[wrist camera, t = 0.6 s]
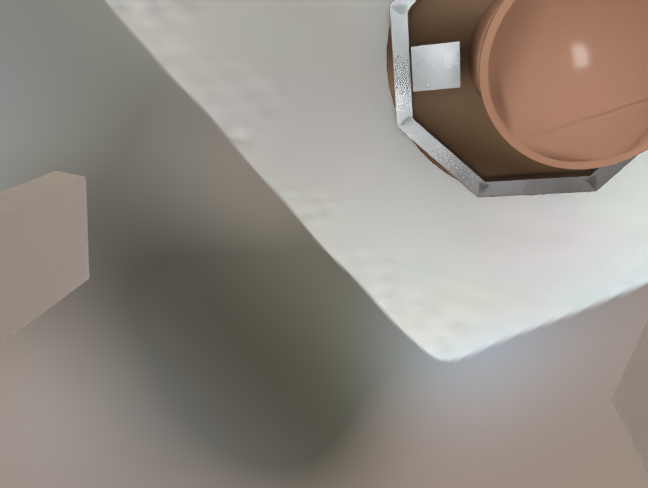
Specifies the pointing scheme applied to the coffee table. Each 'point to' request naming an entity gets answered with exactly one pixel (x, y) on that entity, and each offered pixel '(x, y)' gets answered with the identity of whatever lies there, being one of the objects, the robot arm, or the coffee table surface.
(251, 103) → the coffee table surface
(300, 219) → the coffee table surface
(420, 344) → the coffee table surface
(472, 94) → the base plate
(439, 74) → the collar
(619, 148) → the terracotta mug
